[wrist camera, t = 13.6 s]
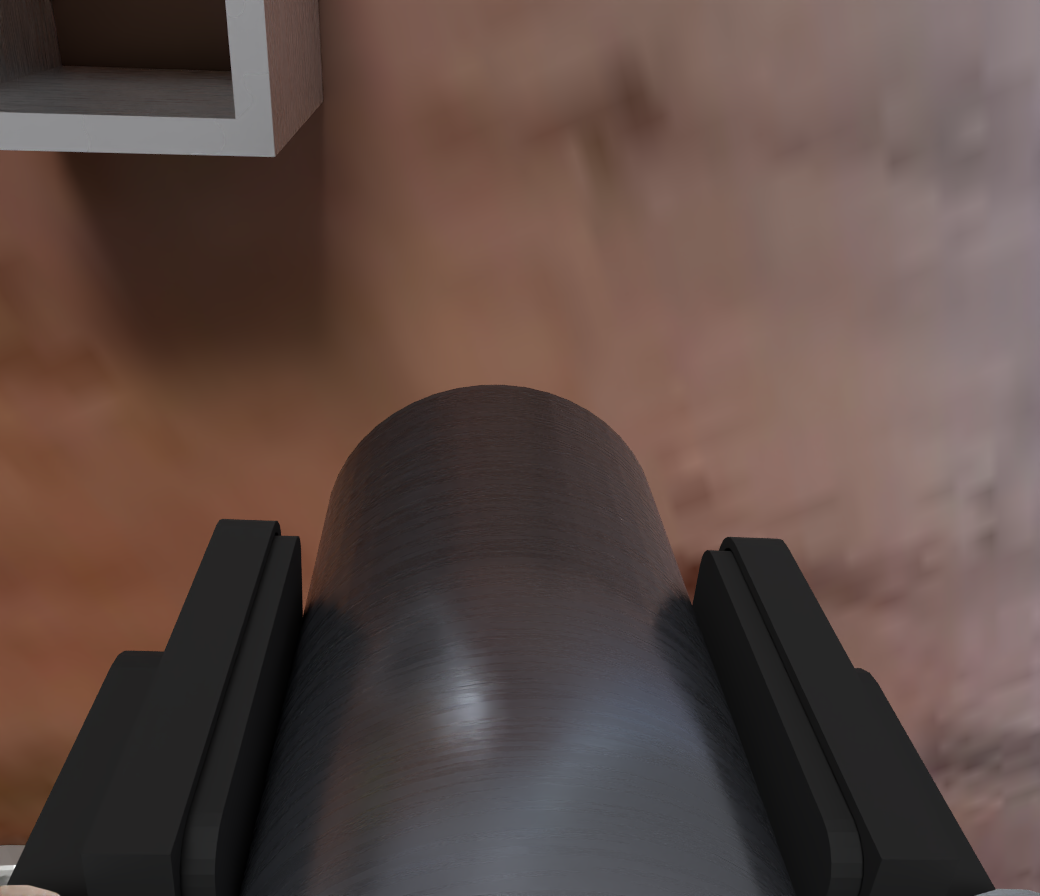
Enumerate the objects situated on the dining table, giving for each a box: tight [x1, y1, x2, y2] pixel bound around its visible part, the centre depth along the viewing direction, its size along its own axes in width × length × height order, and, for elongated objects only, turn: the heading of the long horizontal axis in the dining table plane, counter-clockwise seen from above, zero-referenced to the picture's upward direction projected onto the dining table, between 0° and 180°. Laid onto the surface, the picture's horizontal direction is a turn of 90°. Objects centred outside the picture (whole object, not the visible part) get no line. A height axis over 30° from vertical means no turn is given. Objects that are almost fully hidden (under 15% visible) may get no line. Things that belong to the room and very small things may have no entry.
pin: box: [239, 385, 796, 896], centre depth 8 cm, size 4×4×10 cm
